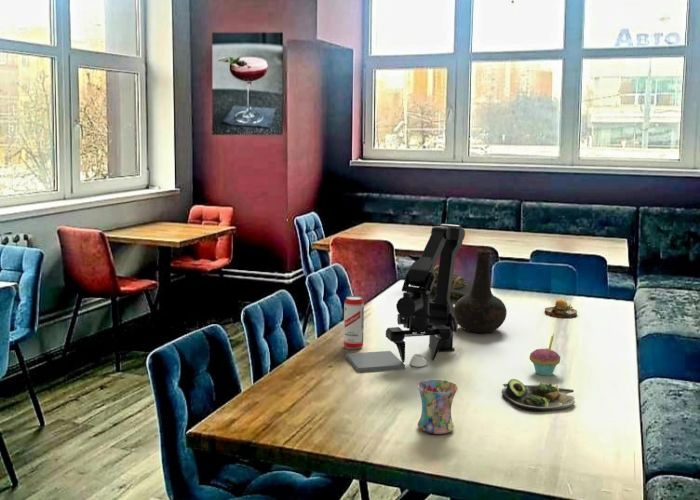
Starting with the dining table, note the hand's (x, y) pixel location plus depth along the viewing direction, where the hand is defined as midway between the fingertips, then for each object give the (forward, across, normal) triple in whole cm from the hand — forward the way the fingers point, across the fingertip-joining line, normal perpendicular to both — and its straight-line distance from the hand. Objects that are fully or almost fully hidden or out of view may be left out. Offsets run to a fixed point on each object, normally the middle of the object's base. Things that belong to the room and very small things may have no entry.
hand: (417, 361), depth 229 cm
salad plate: (+2, -20, +34) cm, 39 cm away
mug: (+1, +13, +48) cm, 50 cm away
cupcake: (+1, -33, +15) cm, 36 cm away
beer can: (+1, +14, -21) cm, 25 cm away
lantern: (+1, -40, -87) cm, 96 cm away
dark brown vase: (+1, -34, -32) cm, 47 cm away
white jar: (+1, 0, 0) cm, 1 cm away
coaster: (+1, +12, -4) cm, 13 cm away
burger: (+2, -74, -47) cm, 88 cm away
